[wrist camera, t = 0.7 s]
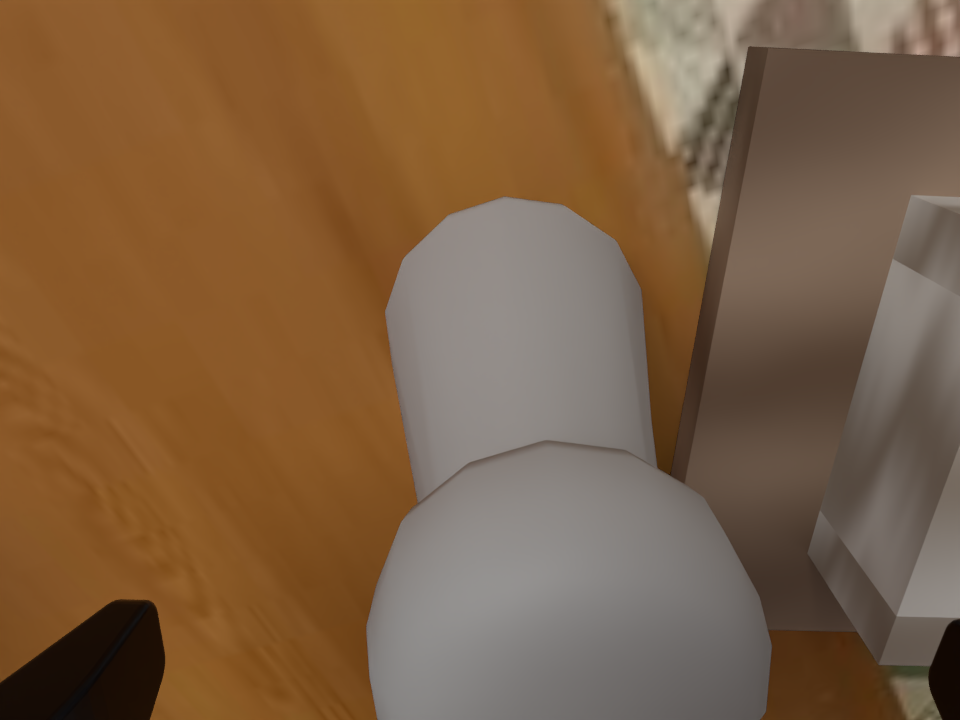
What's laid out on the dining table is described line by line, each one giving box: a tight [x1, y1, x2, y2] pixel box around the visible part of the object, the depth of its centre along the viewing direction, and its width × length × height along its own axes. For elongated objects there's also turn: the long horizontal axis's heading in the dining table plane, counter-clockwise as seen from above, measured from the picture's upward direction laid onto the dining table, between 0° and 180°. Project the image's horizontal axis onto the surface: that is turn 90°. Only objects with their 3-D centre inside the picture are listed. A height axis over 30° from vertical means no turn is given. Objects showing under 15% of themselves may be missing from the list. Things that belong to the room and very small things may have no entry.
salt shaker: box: [366, 197, 772, 720], centre depth 13 cm, size 6×6×13 cm
